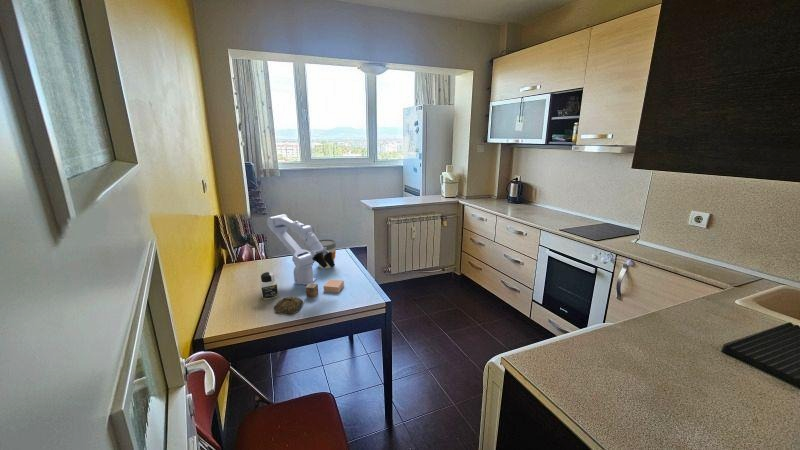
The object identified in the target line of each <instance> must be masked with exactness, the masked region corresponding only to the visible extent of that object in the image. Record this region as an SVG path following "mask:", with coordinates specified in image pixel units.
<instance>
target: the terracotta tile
mask: <svg viewBox="0 0 800 450" xmlns="http://www.w3.org/2000/svg"><path fill="white" fill-rule="evenodd" d="M344 286H345V281H344V280H341V279H328V281H326V282H325V284H324V285H323V292H324V293H325V292H327V293H338V294H339V292H341V290H342V289H343V288H344Z"/></svg>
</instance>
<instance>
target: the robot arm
mask: <svg viewBox="0 0 800 450" xmlns="http://www.w3.org/2000/svg"><path fill="white" fill-rule="evenodd" d="M266 224H267V226H268V229H270V230H271V232H273V234H275V235H276V237H277V238H278V239H279V241H281V242H282V243H283V245H284V246H285V247H286V248H287V250H288V251H290V253H291V254H292V255H293V256H292V260H291V261H292V262H293V264H294V266H295V267H294V269H293V279H294V282H293V284H294V285H304V286H305V285H306V286H307V285H308V284H309V283H313V284H314V282H315V281H316V280H317V278H316V277H314V273H313V266H314V263H315V262H316V263H317V264H318V263H319V264H320V265H321V266H322V267H323V268H322V269H324V268H325V267H326V266H327V263H328V264H329V265H330V267H331V268H333V267H335V265H336V264H335V260H334V261H333V257H332V252H329V251H327V250H326V249H327V248H326V247H323V246H322V244H321V243H320V242H319V240H320V239H319V238H318V237H317V236H316V234H315V229H314V227H313V226H312V225H311V224H307V225H305V224H304V223H302V222H300V221H299V220H295V221H293V220H291V219H290V218H288V215H287V214H285V213H282V214H279V215H274V216H269V217H268V218H267V220H266ZM289 228H290V230H291V232H294V233H295V234H298V237H299V238H300V239H302V240H303V241H304V242H306V245H307V246H308V248H310V250H311V252H310V251H309V250H308V249H303V248H302V247H301V246H300V245H299V244H298V243H297V242H296V240H294V238H293V237H292V236H290V234H289V232H287V231H288V229H289ZM323 255H324V257H323ZM326 262H327V263H326ZM319 264H318V265H319Z"/></svg>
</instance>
